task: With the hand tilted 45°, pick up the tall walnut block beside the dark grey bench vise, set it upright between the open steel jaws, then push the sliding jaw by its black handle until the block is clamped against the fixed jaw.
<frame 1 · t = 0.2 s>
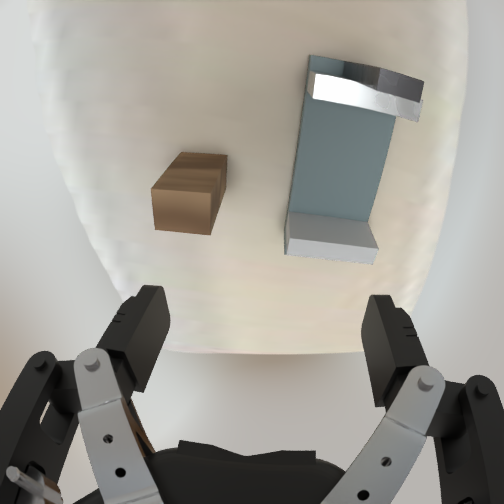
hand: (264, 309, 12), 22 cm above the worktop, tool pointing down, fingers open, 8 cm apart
vise: (339, 156, 30), on the worktop
block: (203, 170, 32), on the worktop
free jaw: (374, 89, 19), point 7 cm above the worktop, slide at 0.0 cm
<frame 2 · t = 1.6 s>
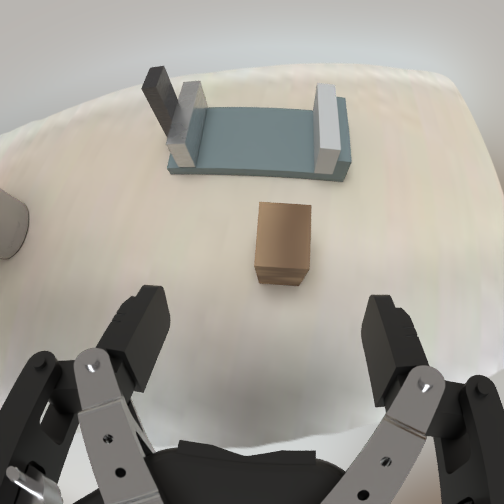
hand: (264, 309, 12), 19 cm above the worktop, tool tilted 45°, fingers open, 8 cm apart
vise: (257, 143, 35), on the worktop
block: (280, 260, 31), on the worktop
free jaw: (176, 108, 29), point 7 cm above the worktop, slide at 0.0 cm
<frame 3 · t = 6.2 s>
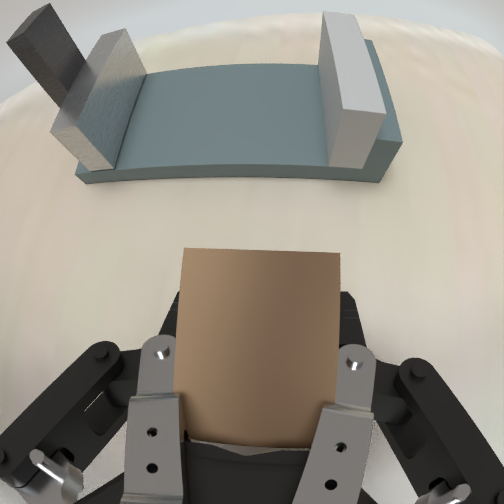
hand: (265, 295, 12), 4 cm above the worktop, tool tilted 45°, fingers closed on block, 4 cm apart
vise: (225, 120, 20), on the worktop
block: (267, 341, 16), on the worktop, touching gripper
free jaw: (77, 71, 14), point 7 cm above the worktop, slide at 0.0 cm
when the fingers open (6 cm above the worktop, at t = 10.8 s): block stays where it is, resting on vise.
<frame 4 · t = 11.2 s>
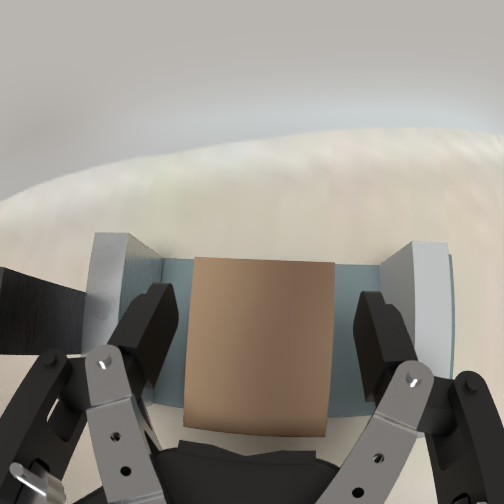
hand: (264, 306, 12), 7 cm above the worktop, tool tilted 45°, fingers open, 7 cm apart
vise: (267, 340, 18), on the worktop
block: (268, 340, 17), point 1 cm above the worktop, touching vise
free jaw: (82, 323, 12), point 7 cm above the worktop, slide at 0.0 cm
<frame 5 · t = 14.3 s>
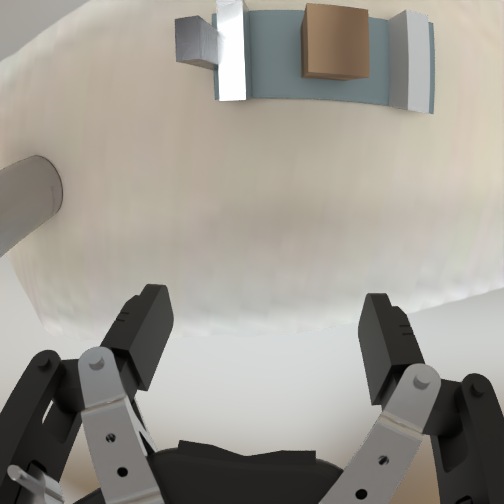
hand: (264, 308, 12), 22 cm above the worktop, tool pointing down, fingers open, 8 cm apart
vise: (320, 55, 24), on the worktop
block: (322, 54, 23), point 1 cm above the worktop, touching vise
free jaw: (220, 46, 19), point 7 cm above the worktop, slide at 0.0 cm
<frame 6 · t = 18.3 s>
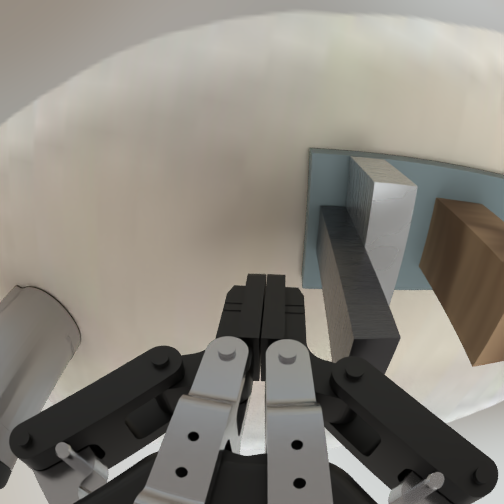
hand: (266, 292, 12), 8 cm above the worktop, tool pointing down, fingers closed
vise: (442, 225, 19), on the worktop
block: (451, 235, 17), point 1 cm above the worktop, touching vise
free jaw: (365, 280, 13), point 7 cm above the worktop, slide at 0.6 cm, touching gripper
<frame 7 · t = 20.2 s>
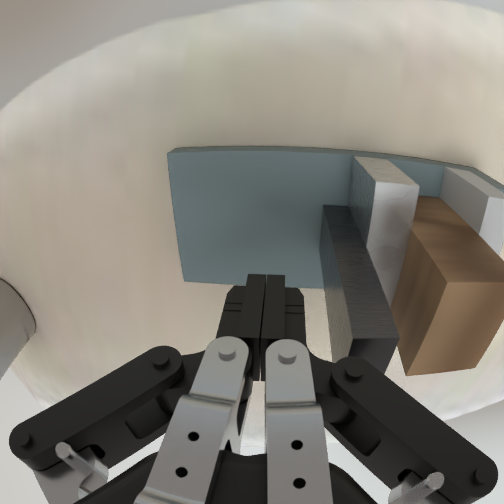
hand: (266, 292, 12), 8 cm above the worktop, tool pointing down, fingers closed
vise: (333, 218, 19), on the worktop
block: (405, 232, 17), point 2 cm above the worktop, touching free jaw, vise
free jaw: (367, 280, 13), point 7 cm above the worktop, slide at 9.0 cm, touching block, gripper
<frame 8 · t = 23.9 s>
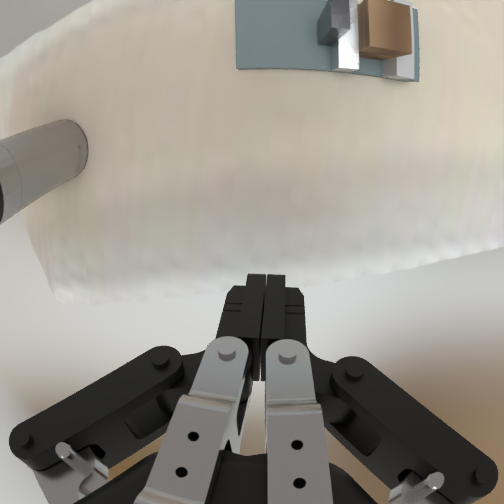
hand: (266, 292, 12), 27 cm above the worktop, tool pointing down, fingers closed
vise: (324, 36, 28), on the worktop
block: (365, 38, 26), point 1 cm above the worktop, touching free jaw, vise
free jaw: (341, 25, 22), point 7 cm above the worktop, slide at 9.0 cm, touching block
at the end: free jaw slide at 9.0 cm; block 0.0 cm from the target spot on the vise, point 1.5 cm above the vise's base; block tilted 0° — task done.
